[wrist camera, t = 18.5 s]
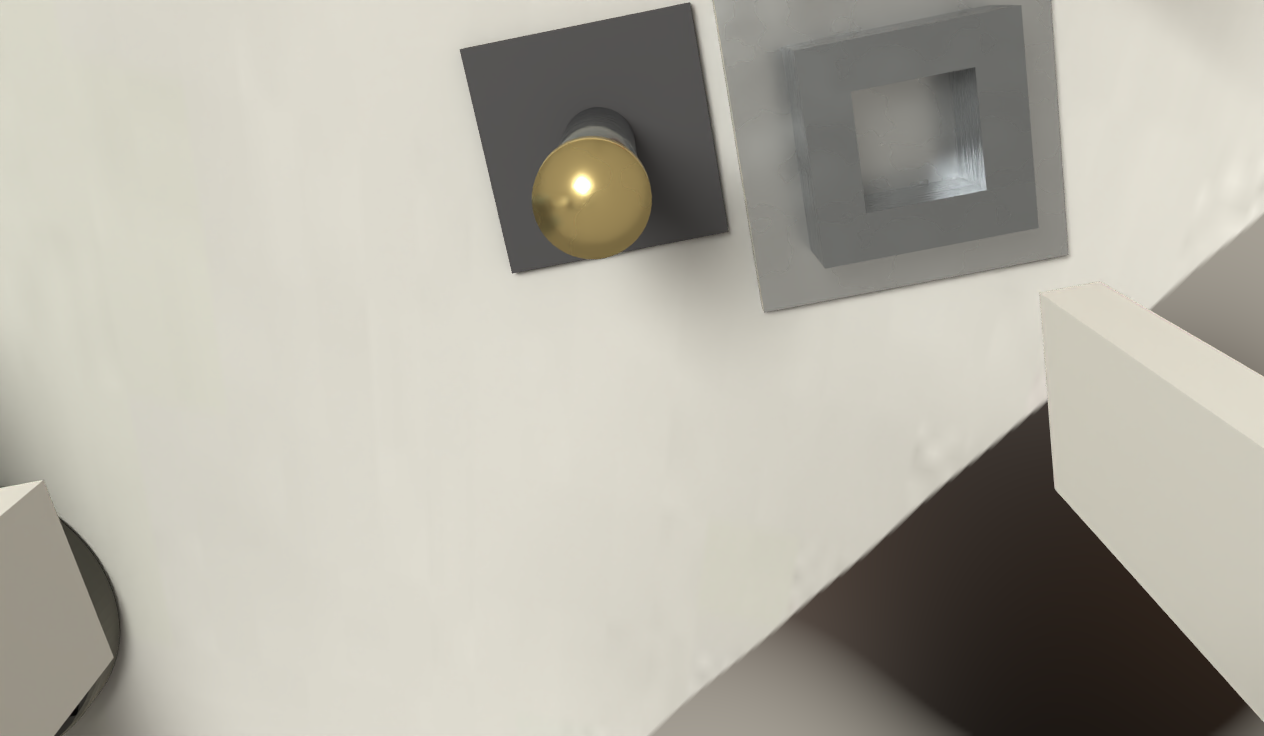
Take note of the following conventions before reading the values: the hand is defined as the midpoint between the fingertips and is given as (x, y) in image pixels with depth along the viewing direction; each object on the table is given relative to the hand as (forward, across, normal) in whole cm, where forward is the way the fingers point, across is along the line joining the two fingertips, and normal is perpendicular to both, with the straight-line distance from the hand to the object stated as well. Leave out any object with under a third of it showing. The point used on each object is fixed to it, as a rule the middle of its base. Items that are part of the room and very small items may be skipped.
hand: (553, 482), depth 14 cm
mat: (+37, 0, 0) cm, 37 cm away
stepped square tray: (+37, +13, -2) cm, 39 cm away
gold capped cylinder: (+36, 0, 0) cm, 36 cm away
